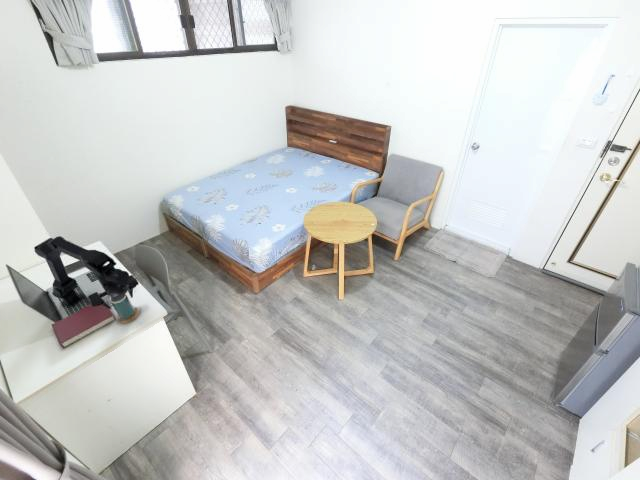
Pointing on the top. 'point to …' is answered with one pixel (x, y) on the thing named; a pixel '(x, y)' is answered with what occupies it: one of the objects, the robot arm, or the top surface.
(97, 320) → the book
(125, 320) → the coaster
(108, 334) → the top surface
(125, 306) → the pencil cup
